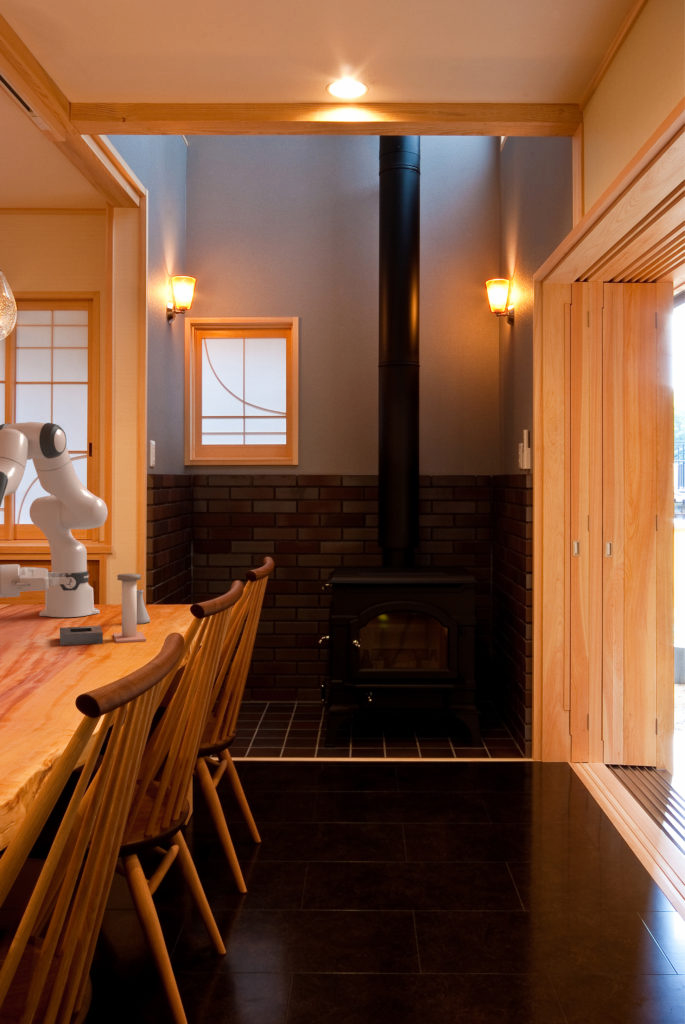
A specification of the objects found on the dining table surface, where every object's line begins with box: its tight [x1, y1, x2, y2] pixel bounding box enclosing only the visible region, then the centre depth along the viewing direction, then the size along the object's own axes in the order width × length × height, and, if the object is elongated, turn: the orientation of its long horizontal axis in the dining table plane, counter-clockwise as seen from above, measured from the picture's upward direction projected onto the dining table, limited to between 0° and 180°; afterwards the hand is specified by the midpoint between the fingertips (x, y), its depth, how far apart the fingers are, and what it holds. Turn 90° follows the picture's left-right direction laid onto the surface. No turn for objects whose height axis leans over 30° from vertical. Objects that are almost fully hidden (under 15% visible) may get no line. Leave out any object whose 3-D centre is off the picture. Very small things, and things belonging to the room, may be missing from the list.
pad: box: [112, 631, 147, 644], centre depth 244 cm, size 12×8×1 cm, turn 19°
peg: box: [116, 573, 142, 637], centre depth 243 cm, size 6×6×17 cm
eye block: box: [59, 625, 104, 647], centre depth 240 cm, size 11×11×3 cm
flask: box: [137, 589, 151, 625], centre depth 270 cm, size 7×7×10 cm
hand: (66, 578), depth 240 cm, fingers open, 8 cm apart
